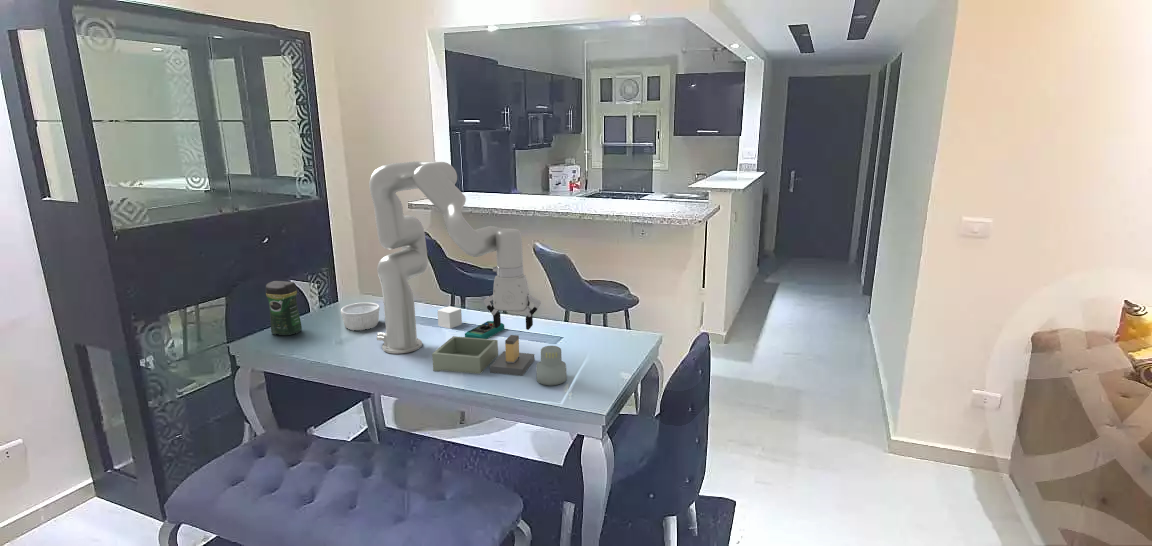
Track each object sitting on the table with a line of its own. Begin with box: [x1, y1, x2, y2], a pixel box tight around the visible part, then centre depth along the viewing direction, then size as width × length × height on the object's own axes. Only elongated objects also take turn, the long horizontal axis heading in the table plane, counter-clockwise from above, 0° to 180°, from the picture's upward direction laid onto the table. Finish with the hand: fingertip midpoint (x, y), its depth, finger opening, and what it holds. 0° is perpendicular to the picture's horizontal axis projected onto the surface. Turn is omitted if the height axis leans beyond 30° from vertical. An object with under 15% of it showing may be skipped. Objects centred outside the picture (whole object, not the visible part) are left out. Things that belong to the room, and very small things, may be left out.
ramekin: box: [340, 302, 380, 331], centre depth 220 cm, size 13×13×7 cm
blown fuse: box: [504, 334, 520, 363], centre depth 183 cm, size 2×5×9 cm, turn 167°
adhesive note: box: [437, 305, 463, 329], centre depth 221 cm, size 6×6×6 cm
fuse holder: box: [489, 350, 536, 376], centre depth 184 cm, size 10×12×2 cm
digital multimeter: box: [464, 320, 505, 339], centre depth 213 cm, size 7×15×3 cm, turn 154°
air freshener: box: [536, 345, 568, 387], centre depth 173 cm, size 11×8×10 cm
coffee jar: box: [265, 280, 303, 336], centre depth 212 cm, size 10×8×19 cm
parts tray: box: [431, 335, 499, 375], centre depth 187 cm, size 15×15×6 cm
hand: (513, 327), depth 181 cm, fingers open, 9 cm apart
